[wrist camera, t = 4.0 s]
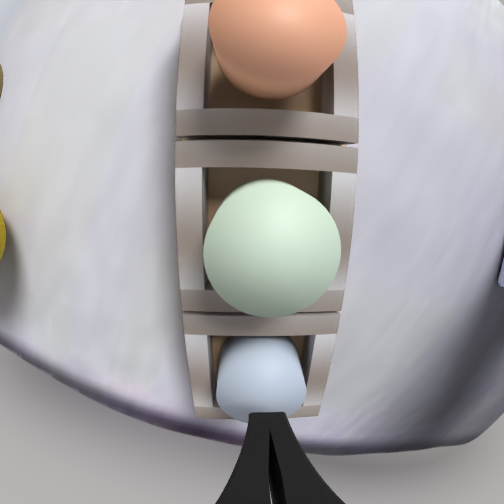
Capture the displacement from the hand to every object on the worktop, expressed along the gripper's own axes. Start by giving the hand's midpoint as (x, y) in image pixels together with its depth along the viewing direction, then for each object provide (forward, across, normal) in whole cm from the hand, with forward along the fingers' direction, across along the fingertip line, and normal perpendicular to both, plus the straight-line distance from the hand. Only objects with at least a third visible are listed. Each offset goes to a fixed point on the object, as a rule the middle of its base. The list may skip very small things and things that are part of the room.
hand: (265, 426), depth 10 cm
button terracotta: (+4, 0, -14) cm, 14 cm away
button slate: (+5, 0, 0) cm, 5 cm away
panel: (+6, 0, -7) cm, 9 cm away
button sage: (+3, 0, -7) cm, 8 cm away
